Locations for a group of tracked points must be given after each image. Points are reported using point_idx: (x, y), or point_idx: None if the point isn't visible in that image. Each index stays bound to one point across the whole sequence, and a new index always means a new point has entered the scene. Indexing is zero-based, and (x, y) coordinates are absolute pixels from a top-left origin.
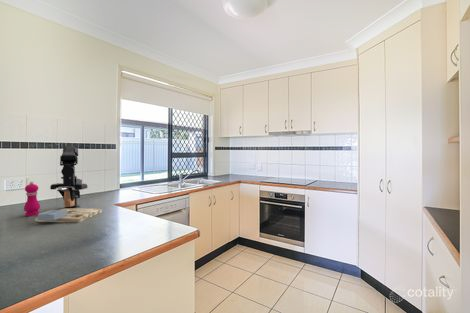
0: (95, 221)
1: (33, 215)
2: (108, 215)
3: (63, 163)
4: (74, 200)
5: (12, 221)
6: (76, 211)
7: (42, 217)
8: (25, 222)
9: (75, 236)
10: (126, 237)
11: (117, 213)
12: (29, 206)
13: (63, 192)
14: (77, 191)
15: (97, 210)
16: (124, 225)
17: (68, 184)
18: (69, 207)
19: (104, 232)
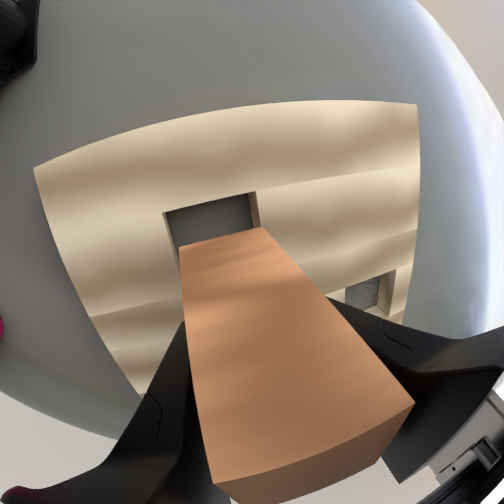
0: (439, 277)
1: (1, 328)
2: (455, 178)
3: None
4: (288, 255)
5: (47, 403)
6: (280, 218)
7: None
8: (117, 405)
9: None
10: (491, 321)
11: (469, 135)
12: None
13: (223, 494)
14: (463, 344)
15: (417, 153)
16: (495, 271)
17: None
18: (8, 78)
19: (468, 328)
